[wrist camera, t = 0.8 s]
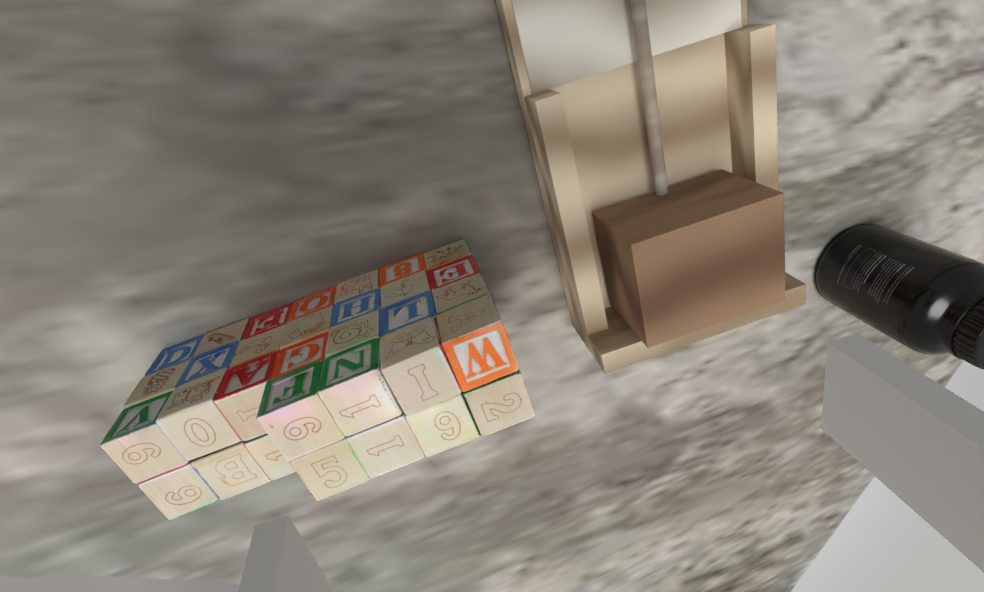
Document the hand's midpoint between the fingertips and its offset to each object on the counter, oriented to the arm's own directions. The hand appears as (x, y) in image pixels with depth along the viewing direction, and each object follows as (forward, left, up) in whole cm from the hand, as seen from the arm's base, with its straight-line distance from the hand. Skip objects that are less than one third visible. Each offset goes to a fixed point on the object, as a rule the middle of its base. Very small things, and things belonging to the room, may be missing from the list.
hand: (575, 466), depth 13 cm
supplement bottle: (+15, +29, -25) cm, 41 cm away
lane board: (-1, +13, -24) cm, 27 cm away
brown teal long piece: (-1, +13, -22) cm, 26 cm away
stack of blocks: (+6, -10, -25) cm, 28 cm away
